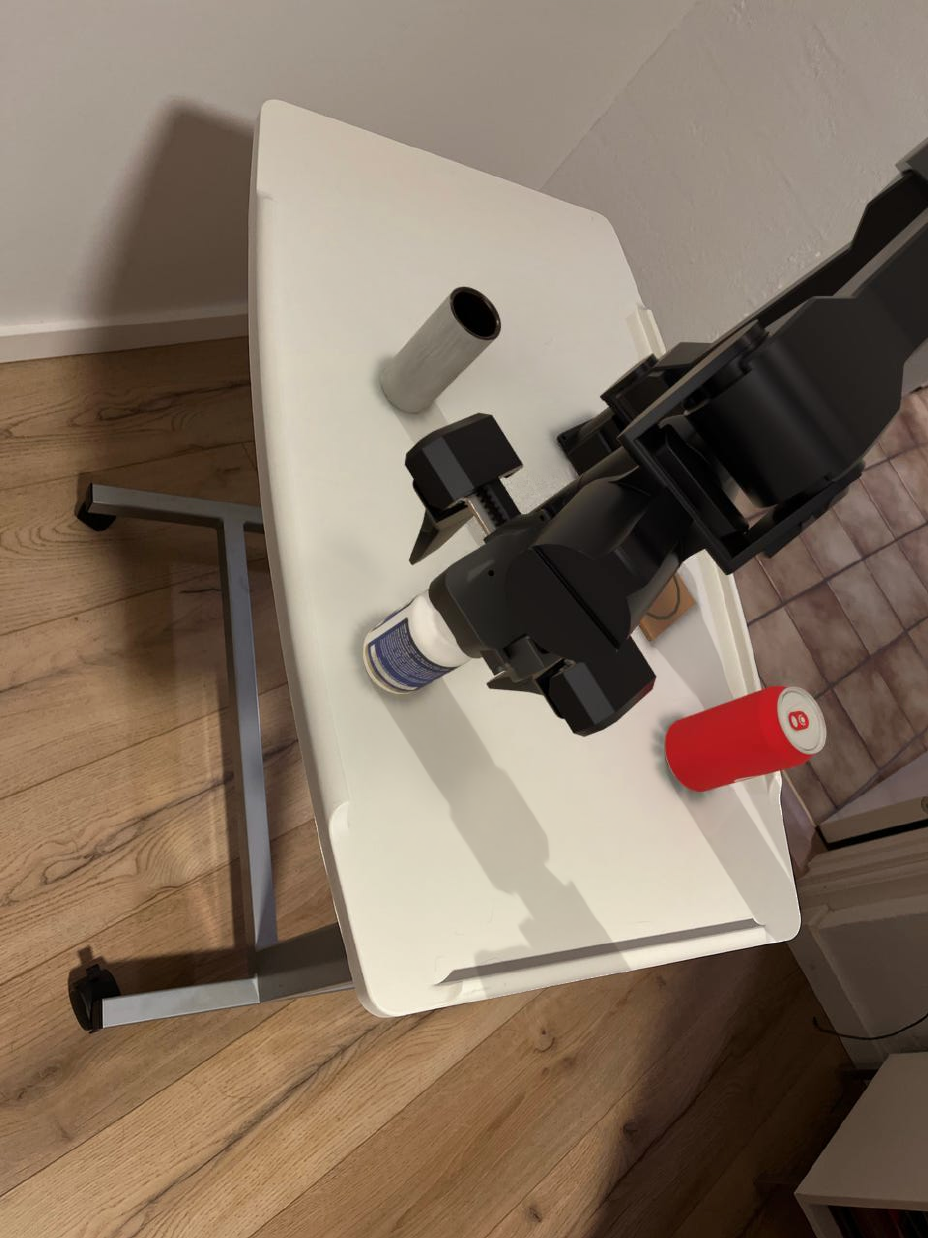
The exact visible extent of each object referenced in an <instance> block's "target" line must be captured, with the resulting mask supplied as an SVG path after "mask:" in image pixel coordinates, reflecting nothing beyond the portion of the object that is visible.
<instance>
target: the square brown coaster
mask: <svg viewBox="0 0 928 1238" xmlns="http://www.w3.org/2000/svg"><path fill="white" fill-rule="evenodd" d="M696 605H697V602H696V601H695V599H694V596H693V595H692V594H691V592H690V591H689V589H688V587H687V586H686V584H685V583H684V581H683V579H682V578H681V576H680V575H679V573H678V571H677V572H676V573H675V574H674V576H673V577H672V579H671V580H670V581H669V583H668V584H667V585H666V587H665V588H664V590H663V591H662V592H661V594H660V595H659V597H658V598H657V599H656V601H655V602H654V603H653V605H652V606H651V608H650V609H649V610H648V612H647V613H646V614H645V616H644V617H643V619H642V620H641V621H640V623H639V624H638V626H639V627H640V629H641V631H642V632H643V634H644V635H645V637H646V639H647V640H648V642H652V641H653V640H655V639H656V638H657V637H659V636H660V635H661V634H662V633H663V632H665V631H666V630H667V629H668V628H669V627H670V626H672V625H673V624H675V622H676V621H677V620H679V619H680V618H681V617H682V616H684V615H685V614H686V613H687V612H689V611H690V610H691V609H692V608H694V607H695V606H696Z"/></svg>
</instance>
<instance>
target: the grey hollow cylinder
mask: <svg viewBox="0 0 928 1238" xmlns="http://www.w3.org/2000/svg"><path fill="white" fill-rule="evenodd" d="M501 330H502V320H501V317H500V314H499V312H498V310H497V308H496V306H495V305H494V304H493V302H492V301H491V300H490V298H489V297H487V296H486V295H485V294H483V292H481V291H480V290H478V289H476V288H473V287H470V286H458V287H456V288H454V289H452V291H451V292H450V293H449V294H448V295H447V297H446V298H445V299H444V300H443V301H442V302H441V303H440V305H438V307H437V308H436V309H435V310H434V311H433V313H431V315H430V316H429V317H428V318H427V319H426V321H425V322H424V323H423V324H422V326H420V327H419V328H418V330H417V331H416V332H415V333H414V334H413V336H412V337H410V339H409V340H408V341H407V342H406V344H405V345H404V346H403V347H402V348H401V349H400V350H399V351H398V353H397V354H396V355H395V356H394V357H393V359H391V360H390V361H389V363H388V364H387V365H386V367H385V368H384V369H383V371H382V372H381V376H380V384H381V388H382V391H383V394H384V395H385V396H386V398H387V400H388V401H389V402H391V404H392V406H393V407H394V406H395V407H396V408H397V409H398V410H399V411H402V412H405V413H408V414H419V413H422V412H424V411H425V410H426V409H427V408H428V407H430V406H431V405H432V404H433V402H434V401H436V400H437V398H438V397H439V396H440V395H442V394H443V392H445V391H446V389H448V388H449V387H450V386H451V384H452V383H454V381H456V379H458V377H459V376H460V375H462V374H463V372H464V371H466V369H467V368H468V367H469V366H470V365H472V363H473V362H475V361H476V359H477V358H479V357H480V355H482V353H483V352H484V351H485V350H487V348H489V346H490V345H491V344H492V343H493V342H495V340H497V338H498V337H499V336H500V334H501Z"/></svg>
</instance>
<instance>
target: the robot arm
mask: <svg viewBox="0 0 928 1238" xmlns="http://www.w3.org/2000/svg"><path fill="white" fill-rule="evenodd" d="M894 166H895V168H896V170H898V174H897V175H896V176H895V177H893V179H891V180H890V181H889V182H888V184H886V185H885V186H884V187H883V188H882V189H881V190H880V191H879V192H878V193H877V194H876V195H875V196H874V197H873V198H872V199H871V200H870V201H869V202H867V204H866V205H865V207H864V210H863V212H862V215H861V218H860V220H859V222H858V225H857V227H856V229H855V232H854V234H853V237H852V239H851V240H849V242H848V243H846V244H844V245H843V246H842V247H840V248H839V249H838V250H836V251H835V252H834V253H832V254H831V255H829V256H828V257H827V258H825V259H824V260H823V261H821V262H820V263H819V264H818V265H816V266H814V267H813V268H812V269H810V270H809V271H808V272H807V273H805V274H804V275H802V276H801V277H799V278H798V279H796V280H795V281H794V282H793V283H791V284H790V285H789V286H787V287H786V288H785V289H784V290H782V291H780V292H779V293H777V295H775V296H774V297H772V298H771V299H770V300H768V301H767V302H766V303H764V304H763V305H762V306H760V307H759V308H757V309H756V310H755V311H753V312H752V313H751V314H749V315H748V316H746V317H745V318H744V319H743V320H741V321H740V322H738V323H737V324H736V325H734V326H733V327H731V328H730V329H729V330H728V331H727V332H724V334H722V335H721V336H719V337H718V338H717V339H716V340H714V341H713V342H697V341H696V342H693V341H680V342H679V343H677V344H676V345H675V346H673V347H672V348H671V349H669V350H667V351H666V352H665V353H663V355H661V356H659V357H657V356H656V355H655V354H654V353H650V354H649V355H648V356H646V357H644V358H642V359H641V360H640V361H638V362H637V363H635V364H634V365H633V366H632V367H631V368H629V370H627V371H626V372H625V373H624V374H622V375H621V376H620V377H619V378H618V379H616V380H615V382H614V383H612V384H611V385H610V386H609V387H608V388H606V390H604V392H603V393H602V394H600V395H599V398H600V399H601V400H602V402H604V403H605V404H606V406H607V408H605V409H604V410H602V411H601V412H600V413H599V414H597V415H596V416H594V417H592V418H590V419H588V420H586V421H584V422H582V423H580V424H578V425H575V426H573V427H571V428H569V429H567V430H565V431H563V432H561V433H559V434H558V435H557V436H556V441H557V443H558V444H559V446H560V448H561V449H562V451H563V452H564V454H565V456H566V457H567V459H568V461H569V462H570V464H571V465H572V466H573V468H574V470H575V471H576V473H577V475H578V477H577V478H575V479H574V480H572V481H571V482H569V483H568V484H566V485H565V486H564V487H562V488H561V489H560V490H558V491H557V492H555V493H554V494H553V495H551V496H550V497H548V498H547V499H546V500H545V501H542V503H540V504H539V505H537V506H536V507H535V508H533V509H532V510H530V511H529V512H528V513H522V512H521V511H520V509H519V507H518V505H517V504H516V503H515V501H514V499H513V498H512V496H511V494H510V493H509V492H508V490H507V488H506V486H505V484H503V482H502V481H501V480H502V479H504V478H505V479H509V478H511V477H513V476H514V475H515V474H516V473H518V472H519V471H520V470H522V469H523V468H524V463H523V462H522V460H521V458H520V456H519V455H518V453H517V452H516V450H515V449H514V447H513V446H512V444H511V442H510V441H509V440H508V438H507V436H506V435H505V433H504V431H503V429H502V428H501V427H500V425H499V423H498V422H497V420H496V419H495V417H494V416H493V414H490V413H484V412H476V413H474V414H471V415H469V416H466V417H464V418H462V419H460V420H457V421H455V422H452V423H450V424H447V425H445V426H442V427H440V428H437V429H435V430H433V431H431V432H430V433H428V434H426V435H425V436H423V437H422V438H420V440H418V441H417V442H416V443H415V444H414V445H413V446H412V447H411V448H410V449H409V450H408V451H407V452H406V453H405V459H404V467H405V468H406V469H407V471H408V473H409V475H410V476H411V477H412V483H411V485H412V489H413V491H414V493H415V494H416V496H417V497H418V499H419V501H420V502H421V504H422V506H423V507H424V508H425V509H424V514H423V520H422V523H421V526H420V529H419V531H418V534H417V537H416V539H415V542H414V545H413V547H412V550H411V553H410V556H409V558H408V562H409V564H410V565H411V566H414V565H416V564H418V563H420V562H421V561H423V560H424V559H426V558H427V557H429V556H430V555H432V554H433V553H434V552H436V551H438V550H439V549H441V547H442V546H444V545H445V544H446V543H447V542H448V541H449V540H450V539H451V538H452V537H453V536H454V535H455V534H456V533H457V532H459V531H460V530H461V529H462V528H463V527H464V526H465V525H466V524H467V523H468V522H470V521H471V520H472V519H473V517H474V518H475V519H476V521H477V523H478V524H479V526H480V528H481V529H482V531H483V532H484V534H485V535H486V536H485V537H483V538H482V541H483V542H484V544H483V545H482V546H480V547H478V548H476V549H474V550H472V551H471V552H470V553H468V554H466V555H464V556H463V557H461V558H459V559H458V560H456V561H455V562H453V563H451V564H450V565H449V566H448V567H446V569H444V570H443V571H442V572H441V573H440V574H439V575H437V576H436V577H435V578H433V580H432V581H431V582H430V584H429V586H428V589H429V591H428V594H429V599H430V601H431V603H432V605H433V606H434V608H435V609H436V610H437V611H438V612H439V613H440V615H441V617H442V618H443V620H444V621H445V623H446V624H447V626H448V628H449V629H450V631H451V632H452V634H453V636H454V637H455V639H456V642H457V644H458V646H459V648H460V649H461V650H462V652H463V653H464V654H466V655H467V656H469V657H471V658H472V659H483V660H484V662H485V664H486V666H487V667H488V669H489V670H490V671H491V673H492V675H493V676H494V677H492V678H491V679H490V680H488V681H487V682H486V683H485V684H486V686H487V688H488V689H489V690H498V691H510V692H511V691H512V692H524V693H530V694H534V695H538V696H543V698H544V699H545V701H546V702H547V704H548V706H549V707H550V709H551V710H552V711H553V713H554V715H555V716H556V717H557V718H559V719H561V720H564V721H565V723H566V724H567V726H568V728H569V729H570V730H571V732H572V734H573V735H577V736H579V737H583V738H585V737H589V736H592V735H594V734H597V733H599V732H602V731H604V730H606V729H608V728H609V727H611V726H613V725H614V724H616V723H617V722H619V720H621V719H622V718H623V717H624V716H625V715H626V714H627V713H628V712H629V711H630V710H631V709H633V708H634V707H635V706H636V705H637V704H639V702H641V700H643V699H644V698H645V697H647V695H648V694H649V693H650V692H651V691H653V690H654V686H655V683H656V679H657V675H656V673H655V672H654V670H653V668H652V667H651V665H650V663H649V662H648V661H647V659H646V657H645V656H644V654H643V652H642V651H641V649H640V648H639V646H638V644H637V643H636V641H635V640H634V638H633V637H632V634H633V633H634V631H635V630H636V628H638V626H639V623H640V621H641V620H642V619H643V617H644V616H645V614H646V613H647V612H648V610H649V609H650V608H651V606H652V605H653V603H654V602H655V601H656V599H657V598H658V597H659V595H660V594H661V592H662V591H663V590H664V588H665V587H666V585H667V584H668V583H669V581H670V580H671V579H672V577H673V576H674V574H675V573H676V572H677V573H678V570H679V569H680V568H681V566H682V565H683V563H684V562H685V561H687V560H689V558H691V557H693V556H694V555H696V554H698V553H700V552H703V551H704V550H705V552H706V553H707V554H708V555H709V556H710V558H711V559H712V560H713V562H714V563H715V564H716V566H717V567H718V568H719V569H720V570H721V571H722V573H723V574H724V575H725V576H730V575H732V574H733V573H736V571H737V570H739V569H741V568H742V567H744V565H746V564H747V563H748V562H750V561H751V560H752V559H754V558H755V557H756V556H757V557H759V558H761V559H766V560H767V559H768V560H770V559H772V558H774V556H776V555H777V554H778V553H779V552H780V551H782V550H783V549H784V548H785V547H787V545H789V544H790V543H792V541H794V540H795V539H796V538H797V537H799V535H801V534H802V533H803V532H805V531H806V530H807V529H808V528H809V527H810V526H812V525H813V524H814V523H815V522H817V521H818V520H819V519H820V518H822V516H824V514H826V513H827V512H828V511H829V510H830V509H832V508H833V507H834V506H835V505H837V504H838V503H839V502H841V500H843V499H844V498H845V497H847V495H848V494H849V492H850V490H851V486H852V484H853V483H854V482H856V481H857V480H858V479H860V478H861V477H862V476H863V471H864V470H865V468H866V465H867V461H865V459H864V458H865V457H866V456H867V455H868V454H869V452H871V450H872V449H873V448H874V446H875V445H876V444H877V443H878V441H879V440H880V439H881V438H882V436H883V435H884V434H885V433H886V432H887V430H888V429H889V428H890V426H891V425H892V424H893V422H895V420H896V419H897V418H898V416H899V414H900V412H901V404H902V393H903V392H902V391H903V381H904V369H905V368H906V366H907V365H908V364H909V363H910V362H911V360H912V359H913V358H914V357H915V356H916V355H917V354H918V353H919V352H920V350H922V349H923V347H925V346H926V344H928V136H927V137H926V138H924V139H923V140H922V141H921V142H919V143H918V144H916V146H914V148H912V149H911V150H909V152H907V153H906V154H905V155H904V156H903V157H902V158H900V159H899V160H898V161H897V162H896V163H895V164H894ZM740 489H741V491H742V492H743V493H744V494H745V496H746V497H747V498H748V500H749V501H750V502H751V504H752V505H753V506H754V508H757V509H759V510H760V509H766V508H770V509H769V511H767V512H766V513H765V514H764V515H763V516H762V517H761V518H760V519H759V520H758V521H756V523H754V524H753V525H752V526H751V527H750V523H749V521H748V520H747V518H745V516H744V515H743V514H742V512H741V511H740V509H738V508H737V506H736V505H735V502H736V499H737V498H738V495H739V491H740ZM771 507H772V508H771Z"/></svg>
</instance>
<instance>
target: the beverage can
mask: <svg viewBox="0 0 928 1238" xmlns="http://www.w3.org/2000/svg"><path fill="white" fill-rule="evenodd" d="M826 740H827V726H826V721H825V718H824V714H823V712H822V709H821V708H820V706H819V704H818V703H817V700H815V699H814V696H812V695H811V694H810V693H809V692H808V691H807V690H805V689H804V688H801V687H799V686H785V685H784V686H783V685H771V686H768V687H765V688H763V689H759V690H757V691H754V692H751V693H748V694H745V695H742V696H740V697H738V698H735V699H732V700H729V701H726V702H724V703H721V704H718V705H715V706H713V707H710V708H707V709H705V710H702V711H699V712H697V713H694V714H690V715H688V716H686V717H683V718H680V719H677V720H675V721H674V722H672V723H671V725H670V726H669V727H668V728H667V731H666V733H665V737H664V755H665V759H666V762H667V765H668V767H669V770H670V771H671V773H672V775H673V776H674V777H675V779H676V780H677V781H678V782H679V783H680V784H681V785H682V786H683V787H684V788H685V789H688V790H690V791H691V792H696V793H704V792H708V791H711V790H715V789H718V788H722V787H725V786H729V785H732V784H737V783H741V782H744V781H747V780H751V779H755V778H759V777H762V776H765V775H769V774H773V773H778V772H780V771H785V770H787V769H788V770H789V769H791V768H794V767H795V768H796V767H798V766H802V765H803V764H805V763H807V762H808V761H809V760H810V759H812V757H814V755H815V754H817V753H819V752H821V750H822V749H823V748H824V747H825V744H826Z"/></svg>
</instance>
